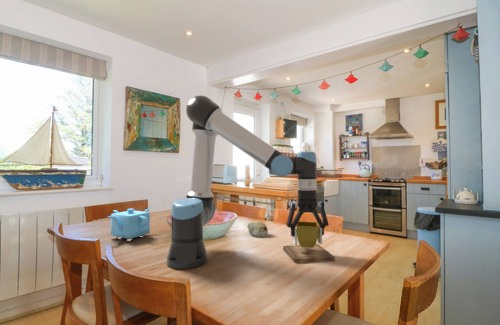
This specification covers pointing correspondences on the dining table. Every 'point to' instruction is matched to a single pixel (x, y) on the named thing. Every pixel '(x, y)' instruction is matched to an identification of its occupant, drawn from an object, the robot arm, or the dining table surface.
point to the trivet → (308, 254)
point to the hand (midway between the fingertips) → (307, 243)
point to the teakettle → (130, 223)
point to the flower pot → (307, 233)
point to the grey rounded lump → (258, 229)
